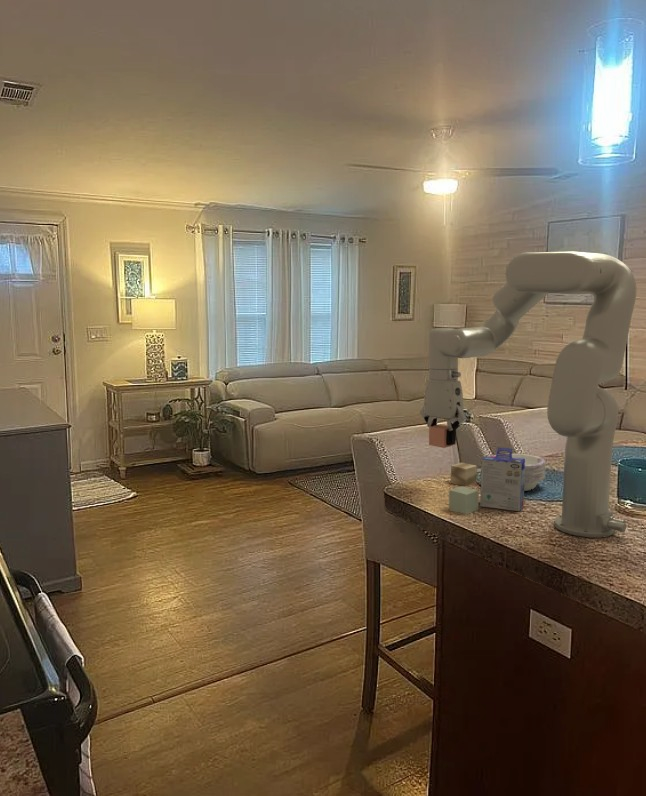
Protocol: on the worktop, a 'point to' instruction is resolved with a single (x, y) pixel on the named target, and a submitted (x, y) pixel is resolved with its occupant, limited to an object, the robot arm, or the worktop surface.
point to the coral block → (438, 435)
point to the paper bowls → (532, 470)
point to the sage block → (463, 499)
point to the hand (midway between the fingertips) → (442, 442)
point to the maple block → (463, 474)
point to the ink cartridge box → (502, 481)
